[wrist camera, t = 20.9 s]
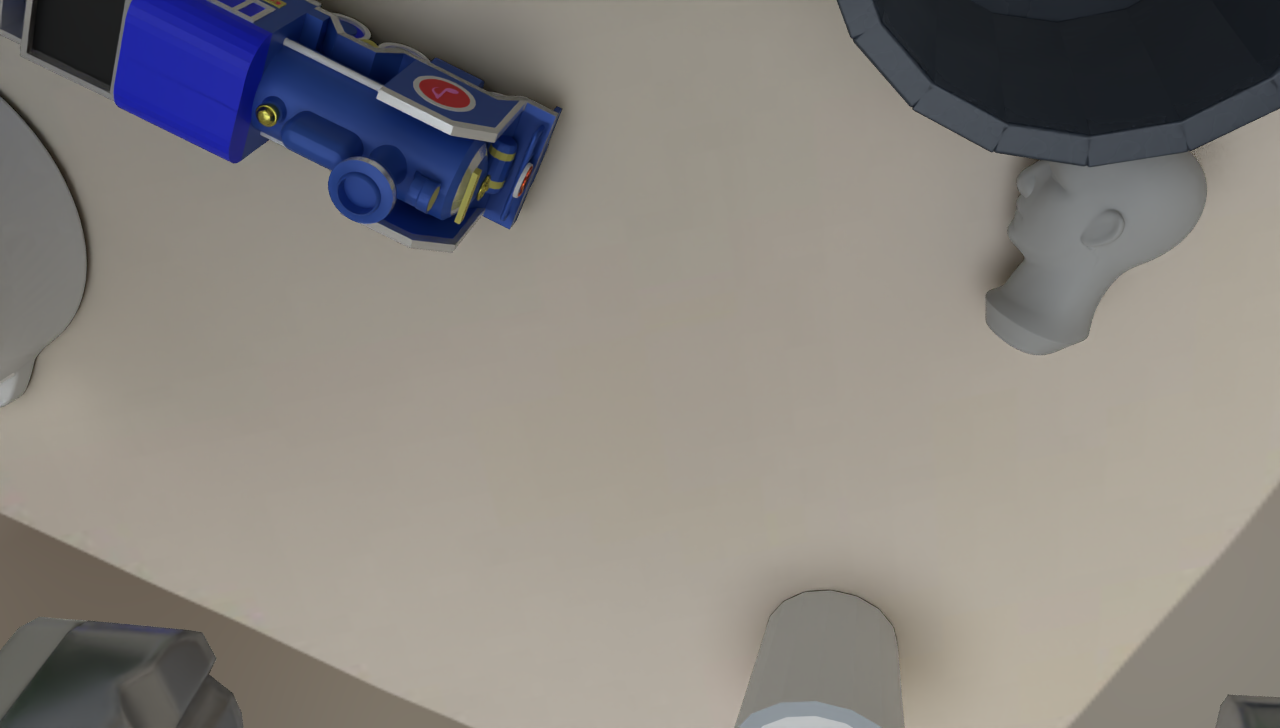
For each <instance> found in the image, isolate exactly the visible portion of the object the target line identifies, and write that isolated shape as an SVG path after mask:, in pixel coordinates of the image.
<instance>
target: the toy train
mask: <svg viewBox="0 0 1280 728" xmlns="http://www.w3.org/2000/svg"><path fill="white" fill-rule="evenodd" d="M321 5H322V4H321V3H319V2H317V1H315V0H0V35H1V36H3V37H5V38H7V39H10V40H12V41H14V42H16V43H18V44H20V56H21V57H23V58H25V59H27V60H29V61H31V62H33V63H35V64H38V65H40V66H42V67H44V68H46V69H48V70H50V71H52V72H54V73H56V74H58V75H60V76H62V77H65V78H67V79H69V80H71V81H73V82H75V83H77V84H79V85H81V86H83V87H85V88H87V89H89V90H91V91H94V92H96V93H98V94H100V95H102V96H104V97H106V98H108V99H110V100H112V101H114V102H115V104H116V105H117V106H118V107H119V108H121V109H124V110H126V111H128V112H130V113H132V114H134V115H136V116H138V117H140V118H142V119H144V120H146V121H148V122H150V123H152V124H154V125H156V126H158V127H160V128H162V129H164V130H166V131H168V132H170V133H172V134H174V135H177V136H179V137H181V138H183V139H185V140H187V141H189V142H191V143H193V144H195V145H197V146H199V147H201V148H203V149H205V150H207V151H209V152H211V153H213V154H215V155H217V156H219V157H221V158H223V159H225V160H227V161H230V162H232V163H238V162H240V161H241V160H243V159H244V158H245V157H247V156H248V155H249V154H251V153H252V152H253V151H255V150H256V149H257V148H259V147H260V146H261V145H263V144H264V143H266V142H267V141H268V140H272V141H274V142H276V143H278V144H280V145H282V146H284V147H286V148H287V149H289V150H291V151H293V152H295V153H297V154H299V155H301V156H303V157H305V158H307V159H309V160H311V161H313V162H315V163H317V164H319V165H321V166H323V167H325V168H327V169H329V170H331V171H332V172H331V174H330V176H329V181H328V190H329V194H330V197H331V200H332V202H333V203H334V205H335V206H336V208H337V209H338V210H339V211H340V212H341V214H342V215H344V216H346V217H347V218H349V219H351V220H353V221H355V222H358V223H360V224H362V225H364V226H366V227H368V228H370V229H372V230H374V231H376V232H378V233H380V234H382V235H384V236H386V237H388V238H390V239H392V240H394V241H396V242H398V243H400V244H403V245H405V246H407V247H409V248H413V249H422V250H431V251H439V252H448V253H453V251H454V250H455V249H456V248H457V246H458V245H459V244H460V243H461V241H462V240H463V239H464V237H465V236H466V235H467V234H468V232H469V231H470V230H471V229H472V227H473V226H474V225H475V224H476V222H477V221H478V220H479V219H480V217H481V216H484V217H486V218H488V219H490V220H492V221H494V222H496V223H498V224H500V225H502V226H504V227H506V228H508V229H510V228H511V227H512V226H513V224H514V223H515V221H516V220H517V218H518V215H519V213H520V210H521V208H522V205H523V203H524V201H525V198H526V196H527V193H528V191H529V189H530V187H531V185H532V183H533V181H534V179H535V177H536V174H537V172H538V170H539V167H540V165H541V162H542V160H543V157H544V155H545V153H546V150H547V148H548V145H549V144H548V143H549V140H550V137H551V135H552V133H553V130H554V128H555V125H556V123H557V120H558V118H559V116H560V113H561V111H562V108H560V107H558V106H557V107H556V108H555V109H554V110H551V109H549V108H547V107H545V106H543V105H541V104H539V103H537V102H535V101H533V100H531V99H529V98H527V97H525V96H505V95H503V94H500V93H496V92H488V91H486V90H484V89H483V86H484V81H483V80H481V79H479V78H477V77H475V76H473V75H471V74H469V73H467V72H465V71H463V70H461V69H459V68H457V67H455V66H453V65H451V64H449V63H447V62H445V61H443V60H441V59H439V58H435V59H433V60H432V61H431V62H430V61H429V59H428V58H427V57H426V56H424V55H423V54H422V53H420V52H419V51H417V50H415V49H413V48H411V47H408V46H406V45H402V44H398V43H390V42H388V43H382V44H380V45H379V46H377V45H376V44H375V43H374V42H373V41H371V40H370V37H371V33H370V31H369V30H368V28H367V27H366V26H364V25H363V24H362V23H360V22H359V21H357V20H355V19H353V18H351V17H348V16H345V15H342V14H338V13H331V12H328V11H326V10H324V9H322V8H321Z"/></svg>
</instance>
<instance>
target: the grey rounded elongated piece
mask: <svg viewBox="0 0 1280 728" xmlns="http://www.w3.org/2000/svg"><path fill="white" fill-rule="evenodd" d="M1016 183H1017V188H1018V190H1019V192H1020V194H1021V195H1020V196H1019V197H1018V199H1017V209H1016V211H1015V217H1014V219H1013V220H1012V221H1011V223H1010V224H1009V226H1008V229H1007V234H1008V237H1009V238H1010V240H1011V241H1012V243H1013V244H1014V245H1015V246H1016V247H1017V248H1018V249H1019V250H1020V251H1021V252H1022V254H1023V255H1024V257H1025V258H1024V260H1023V261H1022V262H1021V264H1020V265H1019V266H1018V267H1017V268H1016V270H1015V271H1014V272H1013V274H1012V275H1011V276H1010V278H1009V279H1008V280H1007V282H1006V283H1005V284H1004V285H1003V286H1000V287H997V288H995V289H992V290H989V291H988V292H987V293H986V323H987V325H988V326H989V328H990V329H991V330H992V331H993V332H994V333H995V334H996V335H997V336H998V337H999V338H1001V339H1002V340H1003V341H1005V342H1006V343H1007V344H1009V345H1010V346H1012V347H1014V348H1016V349H1018V350H1020V351H1022V352H1025V353H1028V354H1032V355H1047V354H1051V353H1054V352H1056V351H1059V350H1061V349H1064V348H1066V347H1069V346H1071V345H1074V344H1076V343H1079V342H1081V341H1083V340H1085V339H1086V338H1087V337H1088V335H1089V331H1090V327H1091V323H1092V319H1093V316H1094V313H1095V310H1096V308H1097V306H1098V304H1099V302H1100V300H1101V298H1102V297H1103V295H1104V294H1105V292H1106V291H1107V289H1108V288H1109V287H1110V286H1111V284H1112V283H1113V282H1114V281H1115V280H1116V279H1117V278H1118V277H1119V276H1120V275H1122V274H1123V273H1124V272H1126V271H1127V270H1129V269H1131V268H1133V267H1135V266H1138V265H1141V264H1143V263H1146V262H1148V261H1151V260H1153V259H1155V258H1157V257H1159V256H1161V255H1163V254H1165V253H1166V252H1168V251H1169V250H1171V249H1172V248H1174V247H1175V246H1176V245H1178V244H1179V243H1180V242H1181V241H1182V240H1183V239H1184V238H1185V237H1186V236H1187V235H1188V234H1189V233H1190V232H1191V231H1192V229H1193V228H1194V227H1195V225H1196V223H1197V222H1198V220H1199V218H1200V216H1201V214H1202V211H1203V209H1204V206H1205V202H1206V196H1207V184H1206V178H1205V175H1204V172H1203V169H1202V167H1201V165H1200V164H1199V162H1198V161H1197V159H1196V158H1195V157H1194V155H1193V154H1192V153H1191V152H1190V151H1189V150H1188V152H1184V153H1178V154H1172V155H1165V156H1159V157H1153V158H1146V159H1140V160H1133V161H1127V162H1121V163H1114V164H1108V165H1102V166H1095V167H1088V166H1084V167H1083V166H1076V165H1070V164H1064V163H1057V162H1051V161H1045V160H1039V161H1038V162H1036V163H1034V164H1033V165H1031V166H1029V167H1027V168H1026V169H1024V170H1023V171H1022V172H1021V173H1020V174H1019V176H1018V178H1017V182H1016Z"/></svg>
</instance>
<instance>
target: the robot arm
mask: <svg viewBox="0 0 1280 728" xmlns="http://www.w3.org/2000/svg"><path fill="white" fill-rule="evenodd" d="M86 273H87V255H86V245H85V239H84V233H83V229H82V225H81V221H80V218H79V214H78V211H77V208H76V206H75V203H74V200H73V198H72V195H71V193H70V191H69V189H68V186H67V184H66V182H65V180H64V178H63V176H62V174H61V172H60V171H59V169H58V167H57V165H56V164H55V162H54V160H53V159H52V157H51V156H50V154H49V153H48V151H47V150H46V148H45V147H44V145H43V144H42V143H41V141H40V140H39V138H38V137H37V136H36V134H35V133H34V132H33V131H32V130H31V128H30V127H29V126H28V125H27V123H26V122H25V121H24V120H23V119H22V118H21V117H20V116H19V115H18V113H17V112H16V111H15V110H14V109H13V108H12V107H11V106H10V105H9V104H8V103H7V102H6V101H5V100H4V99H2V98H1V97H0V408H1V407H4V406H6V405H7V404H9V403H11V402H12V401H14V400H16V399H17V398H19V397H20V396H22V394H23V393H24V392H25V390H26V388H27V386H28V383H29V380H30V377H31V373H32V370H33V365H34V361H35V358H36V357H37V355H38V354H39V353H40V352H41V350H42V349H43V348H44V347H46V346H47V345H48V344H49V343H50V342H52V341H53V340H54V339H55V338H56V337H58V336H59V335H60V334H61V333H62V332H63V331H64V330H65V329H66V327H67V326H68V325H69V323H70V322H71V321H72V319H73V317H74V316H75V314H76V312H77V310H78V308H79V305H80V303H81V300H82V297H83V293H84V288H85V283H86ZM215 661H216V657H215V655H214V653H213V651H212V649H211V648H210V646H209V644H208V642H207V640H206V638H205V636H204V635H203V633H202V632H197V631H191V630H183V629H172V628H162V627H151V626H141V625H130V624H119V623H109V622H98V621H84V620H71V619H58V618H46V617H38V618H36V619H35V620H33V621H31V622H29V623H27V624H25V625H23V626H22V627H20V628H18V629H17V631H16V632H15V633H14V634H13V636H12V637H11V638H10V639H9V640H8V642H7V643H6V644H5V645H4V647H3V648H2V649H1V650H0V728H243V720H242V712H241V710H240V708H239V706H238V704H237V701H236V699H235V697H234V695H233V693H232V692H230V691H229V690H228V689H227V688H226V687H224V686H223V685H221V684H220V683H219V682H218V681H217V680H215V679H214V678H213V677H212V676H210V675H209V673H210V671H211V669H212V667H213V664H214V663H215ZM1215 728H1280V697H1265V696H1247V695H1227V697H1226V698H1225V700H1224V701H1223V702H1222V704H1221V705H1220V710H1219V714H1218V718H1217V722H1216V727H1215Z"/></svg>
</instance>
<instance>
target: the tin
mask: <svg viewBox="0 0 1280 728" xmlns="http://www.w3.org/2000/svg"><path fill="white" fill-rule="evenodd" d="M837 3H838V5H839V8H840V11H841V13H842V16H843V19H844V21H845V24H846V27H847V30H848V32H849V35H850V37H851V38H852V39H853V42H854V43H855V44H856V45H857V46H858V48H859V49H860V50H861V51H862V52H863V53H864V54H865V56H866V57H867V58H868V59H869V60H870V61H871V63H872V64H873V65H874V66H875V67H876V68H877V69H878V71H879V72H880V73H881V74H882V75H883V76H884V77H885V79H886V80H887V81H888V82H889V83H890V84H891V86H892V87H893V88H894V89H895V90H896V91H897V92H898V94H899V95H900V96H901V97H902V98H903V99H904V100H905V102H906V103H907V104H908V105H909V106H910V107H913V108H912V109H913V110H914V111H916V112H918V113H920V114H921V115H923V116H925V117H927V118H929V119H931V120H933V121H934V122H936V123H938V124H940V125H942V126H944V127H945V128H947V129H949V130H951V131H953V132H955V133H957V134H958V135H960V136H962V137H964V138H966V139H968V140H969V141H971V142H973V143H975V144H977V145H979V146H981V147H982V148H984V149H986V150H988V151H990V152H993V151H994V152H996V153H1000V154H1007V155H1013V156H1019V157H1026V158H1032V159H1038V160H1045V161H1051V162H1057V163H1064V164H1070V165H1076V166H1083V167H1084V166H1088V167H1095V166H1102V165H1108V164H1114V163H1121V162H1127V161H1133V160H1140V159H1146V158H1153V157H1159V156H1165V155H1172V154H1178V153H1184V152H1188V150H1189V151H1192V150H1194V149H1196V148H1198V147H1200V146H1202V145H1204V144H1206V143H1208V142H1211V141H1213V140H1215V139H1217V138H1219V137H1221V136H1223V135H1225V134H1227V133H1229V132H1232V131H1234V130H1236V129H1238V128H1240V127H1242V126H1244V125H1246V124H1248V123H1250V122H1252V121H1255V120H1257V119H1259V118H1261V117H1263V116H1265V115H1267V114H1269V113H1271V112H1273V111H1275V110H1278V109H1280V0H837Z"/></svg>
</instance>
